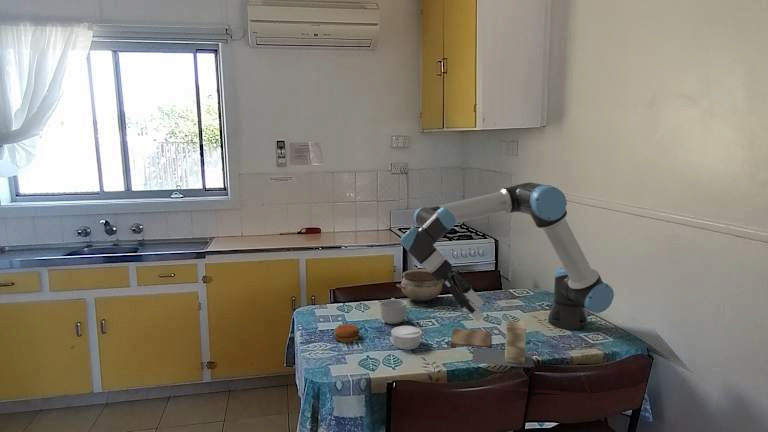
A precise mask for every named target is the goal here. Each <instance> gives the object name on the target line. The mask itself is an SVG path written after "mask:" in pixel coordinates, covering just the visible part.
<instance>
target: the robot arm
mask: <svg viewBox="0 0 768 432" xmlns="http://www.w3.org/2000/svg"><path fill="white" fill-rule="evenodd" d="M567 203H568V201H567V198H566V195H565V194H564V192H563V191H562V190H561V189H559V188H557V187H555V186H553V185H551V184H541V183H536V182H522V183H519V184H515V185H511V186H508V187H504V188H500V189H499V191H497V192H494V193H489V194H485V195H481V196H477V197H472V198H466V199H462V200H458V201H453V202H449V203H446V204H441V205H437V206H432V207H426V206H421V207H419V208H417V209H416V210H415V212H414V214H413V221H414V223H415V224H416V225H417V226H418V227H416V226H411V228H410V229H409V230H407V232H405V233H404V234H403V235H402V236H401V237H400V239H399V242H400V244H401V245H402V247H404V248H405V250H406V251H407V252H408V253H409V254H410V255H411V256H412V257H413V258H414V259H415V260H416V261H417V262H418V264H420V265H421V269H422V270H427V271H428V272H431V273H430V274H431V276H432V277H433V278H434V279H435V280H436V281H440V280H441V279H443V280H444V283H443V284H442V285H443V286H444V287H445V288H446V289H447V290H448V292H449V293H450V294H451V296H452V297H453V299H454V300H456V302H457V303H458V305H459V307H460V308H461V309H465V310H466V311H467V312H468V313H469V314H470V315H471V316H472V318H474V319H475V320H476V321H477V322H479V321H480V320H481V319H482V318H484V316H485V315H484V314H483V313H482V312H481V310H479V308H480V307H481V306H483V304H485V301H484V300H482V298H480V296H479V295H478V294H477V293H476V292H475V291H474V290H473V289H472V288H473V286H472V285H471V284H469V283H468V282H467V281H465V280H464V279H463V278H462V277H460V275H459V274H457V273H456V272H455V271H454V270H453V268H454V266H453V265H452V263H450V261H449V260H447V259H446V258H445V256H444V255H443V254H442V253H441V251H439V250H438V248H436V247H435V246H434V245H435V244H436V243H437V242H438V241H440V239H442V238H443V237H444V236H445V235H446V234H447V233H448V232H449V231H450V230H451V229H452V228H453V227H455V225H456V224H457V223H460V222H464V221H469V220H473V219H478V218H481V217H486V216H490V215H496V214H499V213H505V214H510V213H521V214H527V215H528V216H529V215H530V217H531V218H532V220H533V222H534V224H535V226H536V227H537V228H539V229H542V230H543V232H544V234H545V235H546V237H547V240H548V242H550V244H551V248H552V249H553V250H554V252H555V254H556V256H557V257H558V260H559V261H560V264H561V265H562V267H558V268H557V269H556V270H555V272H554V273H555V274H554V284H553V285H554V287H553V289H554V290H553V303H552V305H551V308H550V311H549V314H548V317H547V322H548V323H549V324H550V325H551V326H553V327H556V328H559V329H563V330H571V331H572V330H573V331H576V330H579V331H580V330H584V329H586V328H587V327H588V325H589V324H588V323H589V320H588V316H587V313H586V311H588V312H591V313H594V314H600V313H604V312H605V311H606V310H608V309H609V308H610V306H611V305H612V303H613V301H614V296H615V294H614V293H615V292H614V289H613V287H612V286H611V285H609V284H608V283H605V282H604V281H603V279H602V277H601V275H600V273H599V271H598V270H596V269H594V268H592V267H591V265H590V263H589V261H588V260H587V258H586V256H585V254H584V251H583V250H582V248H581V246H580V244H579V243H578V240H577V239H576V238H577V237H576V236H575V234H574V232H573V230H572V228H571V226H570V225H569V223H568V220H567V219H566V217H567V215H568V211H567V205H568V204H567ZM464 293H465V294H464ZM467 297H468V298H467Z"/></svg>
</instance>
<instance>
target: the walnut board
mask: <svg viewBox="0 0 768 432" xmlns="http://www.w3.org/2000/svg"><path fill="white" fill-rule="evenodd" d="M457 346H466V347H467V346H468V347H479V348H491V331H487V330H476V329H475V330H473V329H461V328H460V329H459V328H453V329H452V335H451V340H450V348H457Z"/></svg>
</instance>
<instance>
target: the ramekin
mask: <svg viewBox="0 0 768 432" xmlns="http://www.w3.org/2000/svg"><path fill="white" fill-rule="evenodd" d="M390 331H391V332H390V334H391V337H392V343H393V346H394V347H395V348H398V349H400V350H414V349H417V348H418V347H419V346H420V344H421V338H422V336H423V335H422V334H423V332H422V329H421V328H418V327H417V326H412V325H400V326H396V327H393V328H392V329H391V330H390Z"/></svg>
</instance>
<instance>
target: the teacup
mask: <svg viewBox="0 0 768 432" xmlns="http://www.w3.org/2000/svg"><path fill="white" fill-rule="evenodd" d="M379 308H380V309H379V311H380V317H381V319H382V321H384V322H385V323H387V324H389V325H396V324H397V325H398V324H400V323H401V322H403V321H404V320H405V319H406V317H407V302H406V301H405V300H402V299H399V298H397V299H396V298H394V297H391V299H385V300H383V301H381V302H380V303H379Z"/></svg>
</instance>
